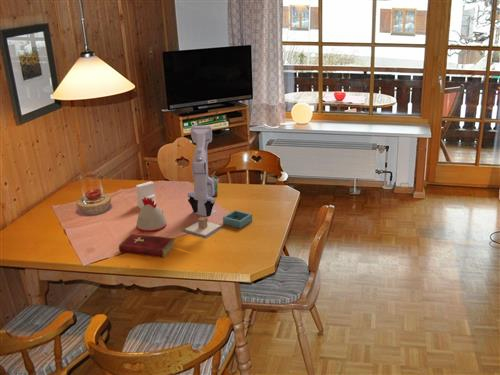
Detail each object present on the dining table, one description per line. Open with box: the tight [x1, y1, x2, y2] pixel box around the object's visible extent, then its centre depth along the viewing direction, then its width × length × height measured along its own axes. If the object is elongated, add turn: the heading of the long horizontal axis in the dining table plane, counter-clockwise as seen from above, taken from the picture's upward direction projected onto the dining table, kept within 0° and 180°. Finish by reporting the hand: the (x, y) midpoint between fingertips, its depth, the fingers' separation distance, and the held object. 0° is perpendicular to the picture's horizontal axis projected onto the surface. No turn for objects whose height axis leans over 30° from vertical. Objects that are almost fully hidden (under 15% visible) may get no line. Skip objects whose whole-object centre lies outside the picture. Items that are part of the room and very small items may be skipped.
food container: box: [209, 174, 220, 199], centre depth 302 cm, size 12×6×10 cm, turn 168°
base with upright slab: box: [136, 180, 157, 210], centre depth 291 cm, size 9×9×12 cm
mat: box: [180, 220, 227, 240], centre depth 265 cm, size 15×15×1 cm
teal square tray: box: [222, 209, 253, 230], centre depth 270 cm, size 10×10×4 cm
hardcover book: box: [118, 233, 175, 258], centre depth 247 cm, size 12×21×4 cm, turn 73°
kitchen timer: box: [136, 197, 168, 234], centre depth 266 cm, size 14×14×15 cm
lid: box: [184, 216, 221, 236], centre depth 264 cm, size 12×12×5 cm
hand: (202, 214), depth 262 cm, fingers open, 7 cm apart
